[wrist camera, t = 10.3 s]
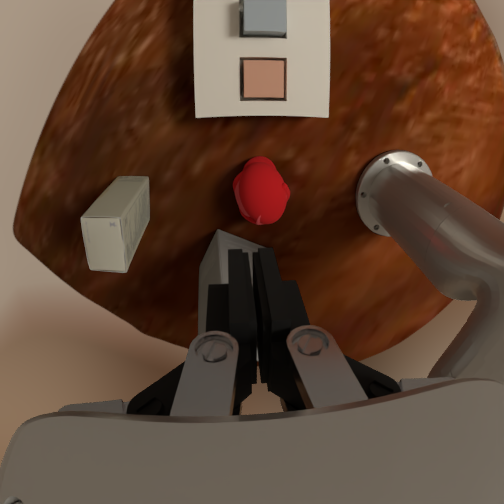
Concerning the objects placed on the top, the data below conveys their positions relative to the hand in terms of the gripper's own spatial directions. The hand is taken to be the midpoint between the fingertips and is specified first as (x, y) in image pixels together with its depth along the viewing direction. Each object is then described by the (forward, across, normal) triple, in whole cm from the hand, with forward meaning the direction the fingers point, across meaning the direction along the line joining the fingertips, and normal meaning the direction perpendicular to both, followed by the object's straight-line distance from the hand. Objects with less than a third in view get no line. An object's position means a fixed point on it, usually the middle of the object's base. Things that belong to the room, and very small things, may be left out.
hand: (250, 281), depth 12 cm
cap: (+27, -3, +5) cm, 28 cm away
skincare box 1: (+27, +13, +6) cm, 31 cm away
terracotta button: (+26, -3, -8) cm, 27 cm away
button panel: (+27, -3, -15) cm, 31 cm away
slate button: (+24, -3, -15) cm, 29 cm away
